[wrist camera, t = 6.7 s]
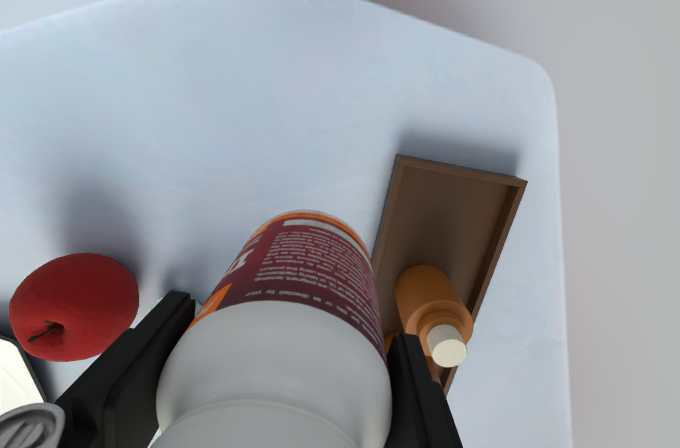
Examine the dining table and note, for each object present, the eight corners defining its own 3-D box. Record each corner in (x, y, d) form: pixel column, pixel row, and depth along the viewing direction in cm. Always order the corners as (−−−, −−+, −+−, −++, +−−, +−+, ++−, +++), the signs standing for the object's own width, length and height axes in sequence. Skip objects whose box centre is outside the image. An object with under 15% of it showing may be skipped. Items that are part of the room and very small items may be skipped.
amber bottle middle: (401, 260, 32) (423, 316, 23) (456, 269, 32) (498, 328, 24) (388, 308, 34) (404, 377, 25) (440, 317, 34) (474, 387, 25)
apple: (49, 249, 33) (-71, 307, 23) (134, 232, 32) (46, 284, 22) (91, 326, 36) (0, 405, 26) (169, 311, 35) (106, 387, 25)
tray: (396, 154, 29) (400, 157, 27) (516, 176, 30) (528, 181, 28) (343, 374, 37) (344, 388, 35) (438, 388, 38) (444, 403, 36)
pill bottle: (249, 195, 15) (36, 403, 5) (382, 217, 15) (467, 460, 5) (240, 310, 17) (80, 630, 7) (357, 327, 17) (378, 660, 7)
